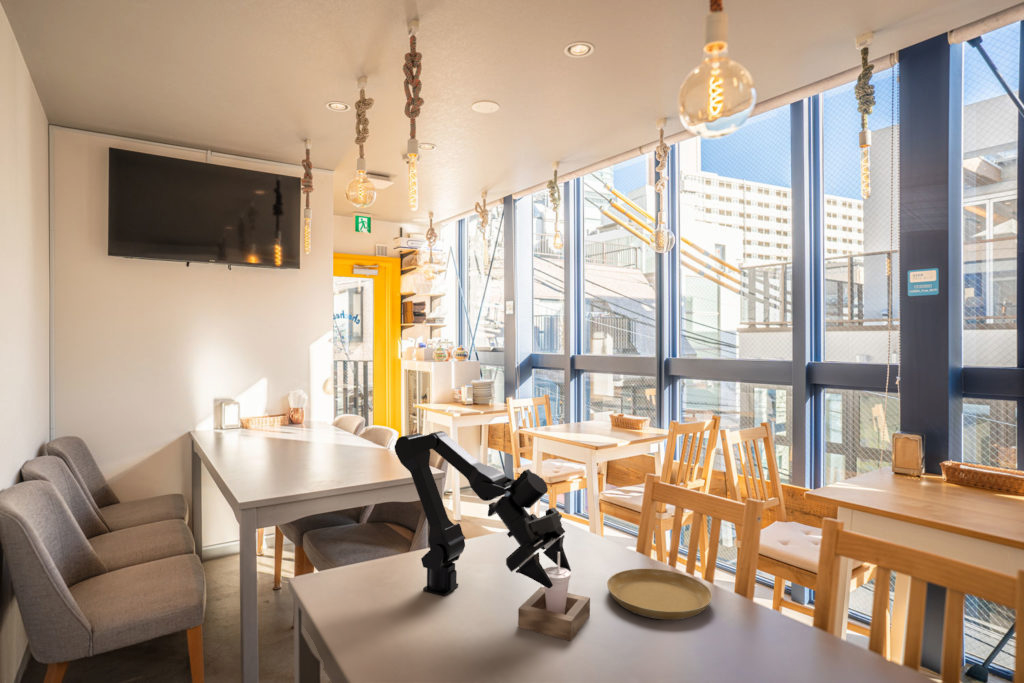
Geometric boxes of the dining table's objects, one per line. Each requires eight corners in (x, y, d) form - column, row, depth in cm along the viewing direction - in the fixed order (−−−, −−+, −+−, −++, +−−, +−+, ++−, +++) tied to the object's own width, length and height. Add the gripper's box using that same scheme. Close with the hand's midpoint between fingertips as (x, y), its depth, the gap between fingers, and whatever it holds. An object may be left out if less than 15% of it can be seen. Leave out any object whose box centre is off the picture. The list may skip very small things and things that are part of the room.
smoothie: (574, 621, 122) (575, 556, 122) (546, 624, 120) (546, 559, 120) (564, 608, 128) (565, 546, 128) (537, 610, 127) (538, 548, 127)
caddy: (518, 627, 121) (518, 608, 121) (540, 604, 132) (540, 586, 132) (571, 640, 116) (571, 621, 116) (589, 615, 126) (590, 597, 126)
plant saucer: (615, 574, 150) (615, 561, 150) (712, 588, 142) (712, 575, 142) (598, 615, 127) (598, 600, 127) (711, 635, 119) (712, 619, 119)
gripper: (519, 509, 118) (566, 573, 112) (558, 489, 134) (601, 545, 128) (486, 540, 122) (531, 603, 116) (528, 517, 138) (569, 572, 132)
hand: (560, 579), depth 123 cm, fingers open, 9 cm apart
